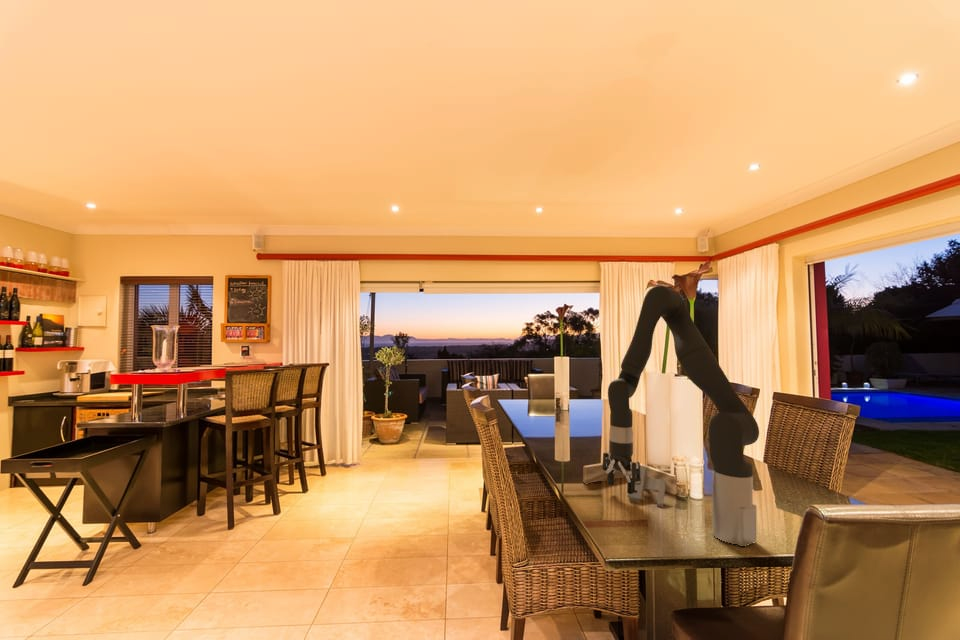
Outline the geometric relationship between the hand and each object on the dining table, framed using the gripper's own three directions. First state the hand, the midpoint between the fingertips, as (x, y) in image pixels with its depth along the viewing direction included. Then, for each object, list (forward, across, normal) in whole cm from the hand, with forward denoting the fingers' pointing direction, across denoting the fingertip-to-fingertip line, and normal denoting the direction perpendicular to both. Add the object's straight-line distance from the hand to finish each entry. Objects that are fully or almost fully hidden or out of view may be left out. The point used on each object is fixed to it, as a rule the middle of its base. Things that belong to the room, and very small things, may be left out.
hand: (620, 489), depth 143 cm
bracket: (+3, -3, -10) cm, 10 cm away
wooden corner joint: (+3, +6, -9) cm, 11 cm away
